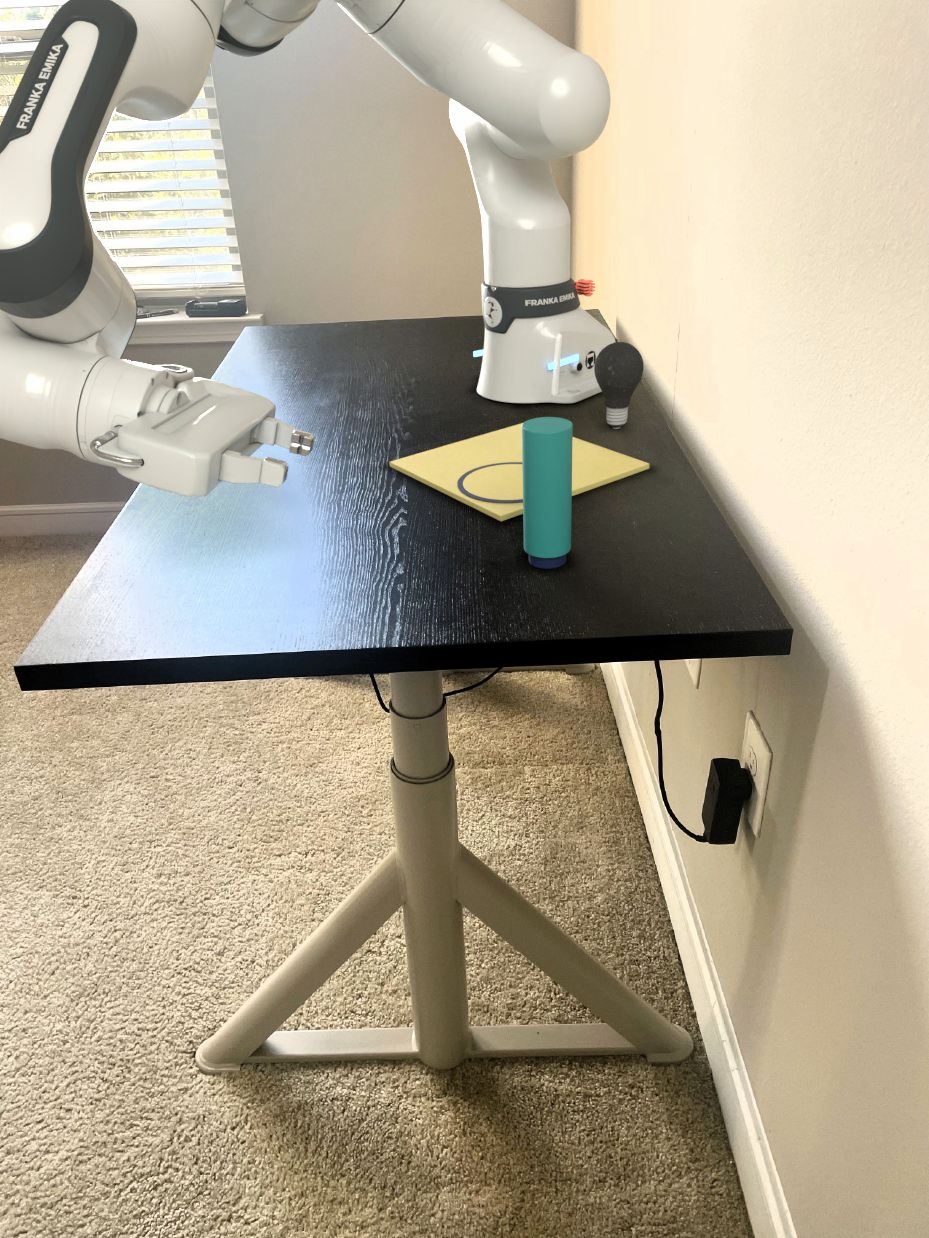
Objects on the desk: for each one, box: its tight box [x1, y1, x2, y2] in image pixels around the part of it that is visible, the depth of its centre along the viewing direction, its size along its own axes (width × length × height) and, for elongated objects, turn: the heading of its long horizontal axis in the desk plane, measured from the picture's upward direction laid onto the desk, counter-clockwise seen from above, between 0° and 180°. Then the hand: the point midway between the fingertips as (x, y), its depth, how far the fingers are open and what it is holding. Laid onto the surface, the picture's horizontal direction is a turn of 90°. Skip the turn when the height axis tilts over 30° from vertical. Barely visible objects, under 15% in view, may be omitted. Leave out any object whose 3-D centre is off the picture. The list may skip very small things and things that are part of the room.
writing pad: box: [388, 422, 650, 522], centre depth 93 cm, size 20×20×1 cm
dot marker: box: [522, 416, 574, 570], centre depth 71 cm, size 4×4×12 cm
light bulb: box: [594, 341, 644, 430], centre depth 100 cm, size 6×6×10 cm
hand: (299, 459), depth 72 cm, fingers open, 8 cm apart
